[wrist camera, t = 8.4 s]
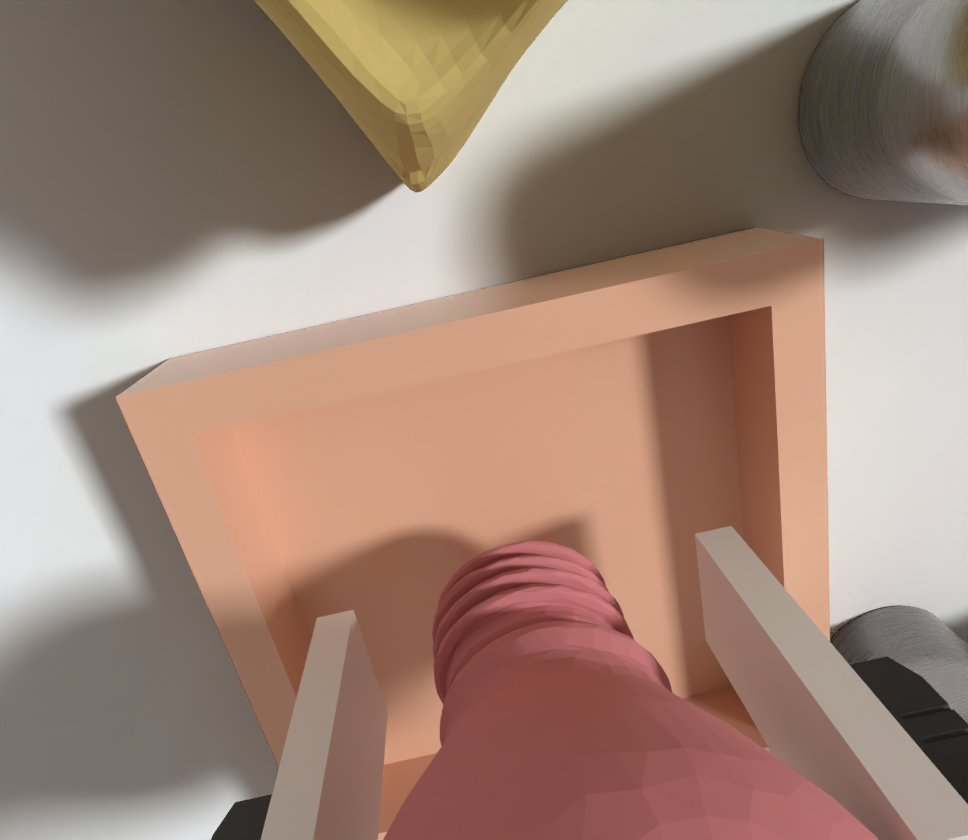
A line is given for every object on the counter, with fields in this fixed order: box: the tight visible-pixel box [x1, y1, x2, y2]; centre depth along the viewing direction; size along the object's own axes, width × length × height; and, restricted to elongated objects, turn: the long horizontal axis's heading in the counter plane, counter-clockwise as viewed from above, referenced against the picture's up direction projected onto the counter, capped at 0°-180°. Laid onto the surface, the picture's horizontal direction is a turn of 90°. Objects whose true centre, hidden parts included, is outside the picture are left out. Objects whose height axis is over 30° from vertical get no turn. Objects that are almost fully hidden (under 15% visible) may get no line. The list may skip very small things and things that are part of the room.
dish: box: [115, 228, 830, 840], centre depth 15 cm, size 13×13×3 cm
